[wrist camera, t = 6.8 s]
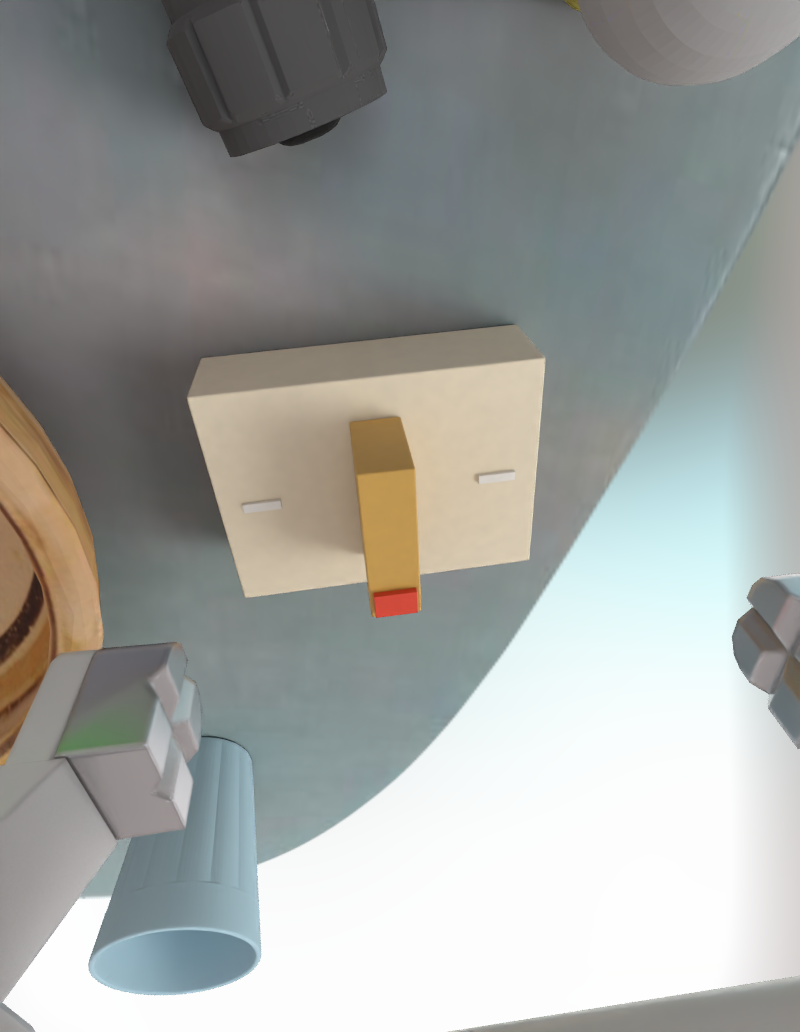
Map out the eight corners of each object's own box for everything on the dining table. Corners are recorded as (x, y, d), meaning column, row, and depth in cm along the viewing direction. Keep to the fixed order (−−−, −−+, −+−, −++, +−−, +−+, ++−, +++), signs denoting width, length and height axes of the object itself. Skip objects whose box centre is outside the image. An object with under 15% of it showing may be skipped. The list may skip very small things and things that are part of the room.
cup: (121, 732, 34) (63, 945, 26) (260, 716, 35) (247, 918, 27) (154, 804, 39) (114, 1005, 30) (277, 788, 40) (270, 980, 31)
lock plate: (517, 323, 23) (547, 359, 20) (507, 513, 29) (530, 563, 26) (200, 357, 23) (184, 400, 20) (250, 545, 28) (244, 601, 25)
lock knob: (349, 421, 21) (356, 479, 18) (400, 416, 21) (416, 472, 18) (363, 555, 24) (372, 622, 21) (408, 549, 25) (422, 616, 22)
